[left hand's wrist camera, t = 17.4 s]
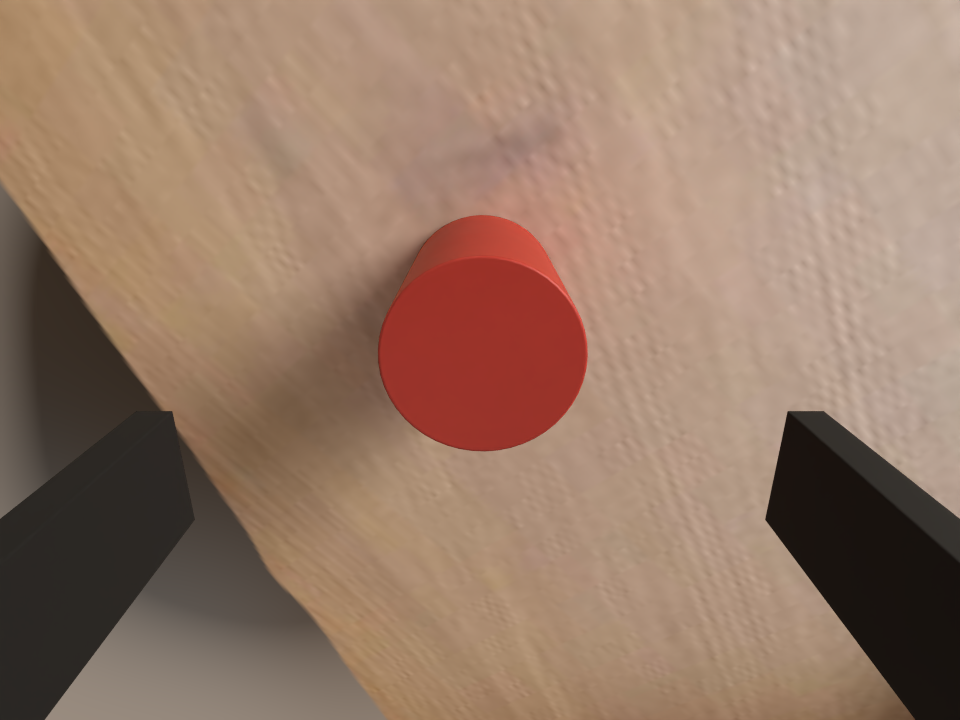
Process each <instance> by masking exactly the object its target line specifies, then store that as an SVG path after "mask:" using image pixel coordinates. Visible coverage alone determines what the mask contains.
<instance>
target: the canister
mask: <svg viewBox="0 0 960 720" xmlns="http://www.w3.org/2000/svg"><path fill="white" fill-rule="evenodd" d="M587 357H588V355H587V340H586V334H585V330H584V326H583V323H582V320H581V318H580V316H579V313H578V311H577V309H576V307H575V305H574V304H573V302H572V300H571V298H570V296H569V294H568V292H567V291H566V289H565V287H564V285H563V283H562V281H561V280H560V278H559V276H558V274H557V272H556V270H555V269H554V267H553V265H552V263H551V261H550V259H549V257H548V256H547V254H546V252H545V250H544V249H543V247H542V246H541V244H540V243H539V242H538V241H537V240H536V238H535V237H534V236H533V235H532V234H530V233H529V232H528V231H527V230H526V229H524V228H523V227H521V226H519V225H518V224H516V223H514V222H512V221H509V220H506V219H503V218H500V217H495V216H485V215H478V216H469V217H465V218H461V219H458V220H456V221H453V222H451V223H449V224H447V225H445V226H443V227H442V228H441V229H439V230H438V231H437V232H435V233H434V234H433V235H432V236H431V237H430V238H429V239H428V240H427V241H426V243H425V244H424V245H423V247H422V248H421V250H420V252H419V253H418V255H417V257H416V259H415V261H414V263H413V265H412V266H411V268H410V270H409V272H408V274H407V276H406V278H405V280H404V282H403V284H402V286H401V287H400V289H399V291H398V293H397V295H396V297H395V299H394V301H393V303H392V305H391V306H390V308H389V310H388V312H387V315H386V317H385V320H384V322H383V325H382V329H381V332H380V336H379V345H378V363H379V369H380V375H381V378H382V381H383V384H384V387H385V389H386V391H387V394H388V396H389V398H390V399H391V401H392V403H393V404H394V406H395V407H396V409H397V410H398V411H399V412H400V413H401V415H402V416H403V417H404V418H405V419H406V420H407V421H408V422H409V423H410V424H411V425H412V426H413V427H414V428H416V429H417V430H419V431H420V432H421V433H423V434H424V435H426V436H428V437H430V438H431V439H433V440H435V441H437V442H440V443H442V444H445V445H447V446H451V447H455V448H458V449H464V450H470V451H494V450H502V449H507V448H511V447H514V446H517V445H521V444H523V443H526V442H528V441H530V440H532V439H534V438H536V437H538V436H539V435H541V434H543V433H544V432H546V431H547V430H548V429H549V428H551V427H552V426H553V425H554V424H556V423H557V422H558V421H559V420H560V418H561V417H562V416H563V415H564V414H565V413H566V412H567V410H568V409H569V408H570V406H571V405H572V404H573V402H574V400H575V398H576V397H577V395H578V393H579V390H580V388H581V385H582V383H583V380H584V376H585V372H586V366H587Z"/></svg>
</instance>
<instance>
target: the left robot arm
mask: <svg viewBox="0 0 960 720" xmlns="http://www.w3.org/2000/svg"><path fill="white" fill-rule="evenodd" d="M194 520H195V519H194V514H193V509H192V504H191V499H190V495H189V490H188V485H187V480H186V475H185V470H184V466H183V461H182V456H181V451H180V446H179V442H178V437H177V432H176V427H175V422H174V417H173V413H172V411H136V412H135V413H134V414H132V415H131V416H130V417H129V418H127V419H126V420H125V421H123V422H122V423H121V424H120V425H118V426H117V427H116V428H115V429H113V430H112V431H111V432H110V433H108V434H107V435H106V436H104V437H103V438H102V439H101V440H99V441H98V442H97V443H96V444H94V445H93V446H92V447H91V448H89V449H88V450H87V451H86V452H84V453H83V454H82V455H80V456H79V457H78V458H77V459H75V460H74V461H73V462H72V463H70V464H69V465H68V466H67V467H65V468H64V469H63V470H62V471H60V472H59V473H58V474H56V475H55V476H54V477H53V478H51V479H50V480H49V481H48V482H46V483H45V484H44V485H43V486H41V487H40V488H39V489H38V490H36V491H35V492H34V493H32V494H31V495H30V496H29V497H27V498H26V499H25V500H24V501H22V502H21V503H20V504H19V505H17V506H16V507H15V508H13V509H12V510H11V511H10V512H8V513H7V514H6V515H5V516H3V517H2V518H1V519H0V720H45V718H46V717H47V716H48V714H49V713H50V712H51V710H52V709H53V708H54V706H55V705H56V704H57V702H58V701H59V700H60V698H61V697H62V696H63V694H64V693H65V692H66V690H67V689H68V688H69V686H70V685H71V684H72V682H73V681H74V680H75V679H76V677H77V676H78V675H79V673H80V672H81V670H82V669H83V668H84V666H85V665H86V664H87V663H88V661H89V660H90V659H91V657H92V656H93V655H94V653H95V652H96V651H97V649H98V648H99V647H100V645H101V644H102V642H103V641H104V640H105V638H106V637H107V636H108V634H109V633H110V632H111V631H112V629H113V628H114V626H115V625H116V624H117V623H118V621H119V620H120V619H121V617H122V616H123V615H124V613H125V612H126V610H127V609H128V608H129V606H130V605H131V604H132V603H133V601H134V600H135V598H136V597H137V596H138V595H139V593H140V592H141V591H142V589H143V588H144V586H145V585H146V584H147V583H148V581H149V580H150V578H151V577H152V576H153V575H154V573H155V572H156V571H157V569H158V568H159V567H160V565H161V564H162V563H163V561H164V560H165V558H166V557H167V556H168V554H169V553H170V552H171V551H172V549H173V548H174V547H175V545H176V544H177V543H178V541H179V540H180V539H181V537H182V536H183V535H184V533H185V532H186V530H187V529H188V528H189V527H190V525H191V524H192V523H193V521H194ZM765 520H766V521H767V523H768V524H769V525H770V527H771V528H772V529H773V531H774V532H775V533H776V535H777V536H778V537H779V539H780V540H781V541H782V543H783V544H784V545H785V547H786V548H787V549H788V551H789V552H790V553H791V555H792V556H793V557H794V559H795V560H796V561H797V563H798V564H799V565H800V567H801V568H802V569H803V571H804V572H805V573H806V575H807V576H808V577H809V579H810V580H811V581H812V583H813V584H814V585H815V587H816V588H817V589H818V591H819V592H820V593H821V595H822V596H823V597H824V599H825V600H826V601H827V603H828V604H829V605H830V607H831V608H832V609H833V611H834V612H835V613H836V615H837V616H838V617H839V619H840V620H841V621H842V623H843V624H844V625H845V627H846V628H847V629H848V631H849V632H850V633H851V635H852V636H853V637H854V639H855V640H856V641H857V643H858V644H859V645H860V647H861V648H862V649H863V651H864V652H865V653H866V655H867V656H868V657H869V659H870V660H871V661H872V663H873V664H874V665H875V667H876V668H877V669H878V671H879V672H880V673H881V675H882V676H883V677H884V679H885V680H886V681H887V683H888V684H889V685H890V687H891V688H892V689H893V691H894V692H895V693H896V694H897V696H898V697H899V698H900V700H901V701H902V702H903V704H904V705H905V706H906V708H907V709H908V710H909V712H910V713H911V714H912V716H913V717H914V718H915V720H960V519H959V518H958V517H957V516H955V515H954V514H953V513H952V512H950V511H949V510H948V509H947V508H945V507H944V506H943V505H941V504H940V503H939V502H938V501H936V500H935V499H934V498H933V497H931V496H930V495H929V494H928V493H926V492H925V491H924V490H923V489H921V488H920V487H919V486H917V485H916V484H915V483H914V482H912V481H911V480H910V479H909V478H907V477H906V476H905V475H904V474H902V473H901V472H900V471H899V470H897V469H896V468H895V467H893V466H892V465H891V464H890V463H888V462H887V461H886V460H885V459H883V458H882V457H881V456H880V455H878V454H877V453H876V452H874V451H873V450H872V449H871V448H869V447H868V446H867V445H866V444H864V443H863V442H862V441H861V440H859V439H858V438H857V437H856V436H854V435H853V434H852V433H850V432H849V431H848V430H847V429H845V428H844V427H843V426H842V425H840V424H839V423H838V422H837V421H835V420H834V419H833V418H832V417H830V416H829V415H828V414H826V413H825V412H824V411H788V413H787V417H786V422H785V427H784V432H783V437H782V442H781V446H780V451H779V456H778V461H777V466H776V470H775V475H774V480H773V485H772V490H771V495H770V499H769V504H768V509H767V514H766V519H765Z"/></svg>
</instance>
